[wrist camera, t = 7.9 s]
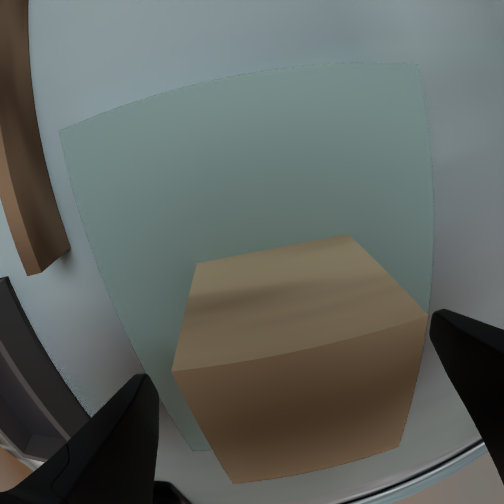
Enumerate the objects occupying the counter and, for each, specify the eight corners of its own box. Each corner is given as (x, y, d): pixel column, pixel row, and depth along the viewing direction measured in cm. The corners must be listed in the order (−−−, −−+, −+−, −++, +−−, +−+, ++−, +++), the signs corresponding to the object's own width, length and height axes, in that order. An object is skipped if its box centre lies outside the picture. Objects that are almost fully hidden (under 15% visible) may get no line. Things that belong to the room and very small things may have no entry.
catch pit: (111, 444, 17) (104, 472, 14) (33, 435, 17) (23, 457, 15) (7, 276, 12) (-21, 300, 9) (-58, 295, 12) (-80, 313, 10)
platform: (397, 381, 16) (410, 404, 14) (195, 424, 16) (192, 451, 14) (391, 71, 10) (417, 64, 8) (84, 130, 10) (59, 131, 8)
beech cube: (352, 350, 12) (398, 446, 7) (230, 375, 12) (233, 483, 7) (348, 233, 10) (428, 315, 5) (196, 263, 10) (171, 371, 5)
